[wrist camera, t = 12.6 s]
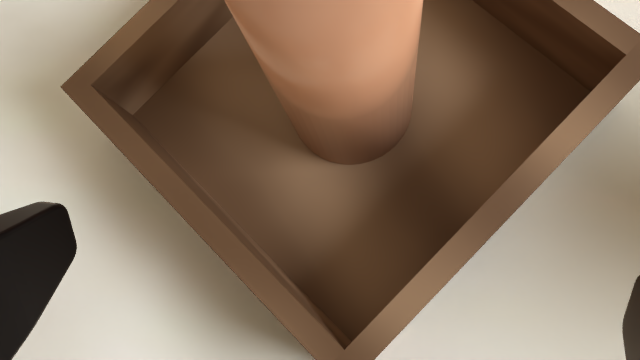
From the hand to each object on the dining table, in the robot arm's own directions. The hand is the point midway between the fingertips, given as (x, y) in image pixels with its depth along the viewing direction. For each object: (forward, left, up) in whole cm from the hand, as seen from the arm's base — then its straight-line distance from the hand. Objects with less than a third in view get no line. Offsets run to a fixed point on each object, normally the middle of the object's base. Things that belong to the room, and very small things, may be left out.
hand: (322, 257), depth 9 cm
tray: (+4, +5, -13) cm, 14 cm away
